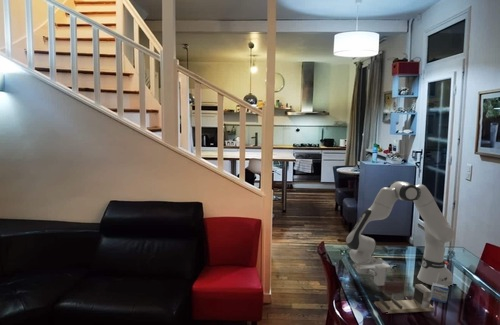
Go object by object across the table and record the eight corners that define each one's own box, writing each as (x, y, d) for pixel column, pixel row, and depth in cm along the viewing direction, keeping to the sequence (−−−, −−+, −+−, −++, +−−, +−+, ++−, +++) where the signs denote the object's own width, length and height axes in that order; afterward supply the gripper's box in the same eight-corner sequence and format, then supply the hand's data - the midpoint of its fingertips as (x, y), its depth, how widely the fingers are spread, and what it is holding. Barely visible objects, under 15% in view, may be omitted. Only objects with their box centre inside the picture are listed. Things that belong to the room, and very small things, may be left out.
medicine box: (430, 300, 203) (433, 285, 202) (429, 296, 207) (432, 282, 206) (446, 303, 200) (449, 289, 199) (445, 299, 204) (447, 285, 203)
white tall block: (380, 281, 204) (382, 264, 202) (384, 285, 200) (386, 268, 199) (373, 282, 203) (375, 265, 202) (377, 285, 199) (379, 268, 198)
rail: (423, 302, 199) (426, 283, 197) (433, 310, 192) (436, 291, 190) (373, 305, 193) (376, 285, 191) (382, 313, 185) (385, 293, 183)
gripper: (351, 259, 211) (364, 269, 198) (383, 258, 215) (397, 268, 202) (350, 269, 212) (362, 280, 199) (382, 268, 216) (396, 279, 203)
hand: (380, 274), depth 200 cm, fingers closed on white tall block, 4 cm apart
